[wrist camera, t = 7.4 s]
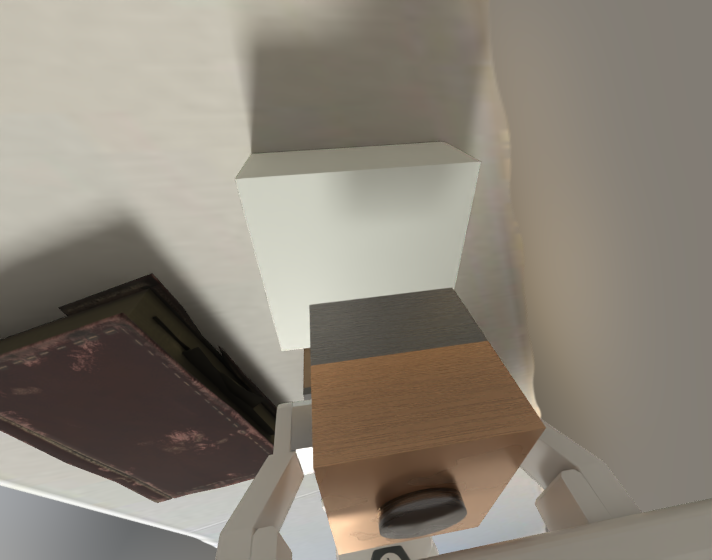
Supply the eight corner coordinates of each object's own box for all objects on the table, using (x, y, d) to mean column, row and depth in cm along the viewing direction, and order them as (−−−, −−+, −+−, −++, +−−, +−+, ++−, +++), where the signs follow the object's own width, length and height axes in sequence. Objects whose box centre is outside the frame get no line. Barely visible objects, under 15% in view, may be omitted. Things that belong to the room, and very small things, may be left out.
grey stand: (424, 289, 26) (445, 330, 22) (285, 305, 25) (281, 351, 21) (443, 141, 19) (481, 161, 15) (251, 153, 18) (234, 179, 14)
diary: (167, 461, 38) (150, 508, 34) (-45, 339, 23) (-120, 396, 19) (301, 423, 36) (300, 467, 32) (164, 265, 22) (131, 311, 18)
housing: (451, 287, 10) (559, 447, 6) (429, 399, 14) (483, 541, 10) (309, 305, 10) (314, 491, 6) (328, 415, 14) (339, 570, 10)
